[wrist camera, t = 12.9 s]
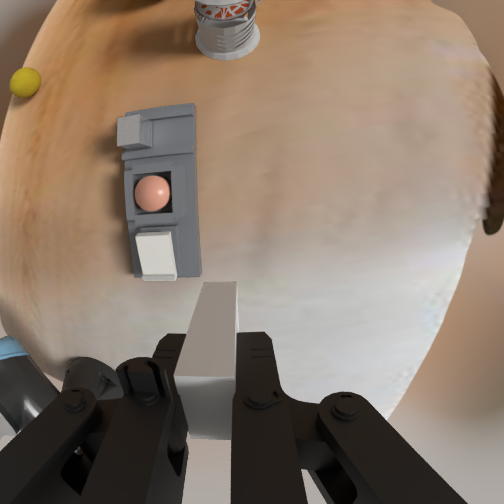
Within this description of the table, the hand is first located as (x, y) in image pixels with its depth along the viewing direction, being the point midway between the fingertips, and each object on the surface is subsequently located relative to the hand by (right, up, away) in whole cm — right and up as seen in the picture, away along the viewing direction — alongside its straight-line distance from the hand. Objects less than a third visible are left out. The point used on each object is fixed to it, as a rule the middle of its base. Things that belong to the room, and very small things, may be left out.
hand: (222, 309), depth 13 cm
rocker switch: (-11, +2, +22) cm, 24 cm away
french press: (-2, +36, +18) cm, 40 cm away
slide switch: (-13, +18, +20) cm, 30 cm away
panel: (-11, +11, +24) cm, 29 cm away
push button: (-11, +10, +22) cm, 26 cm away
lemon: (-38, +33, +17) cm, 53 cm away
